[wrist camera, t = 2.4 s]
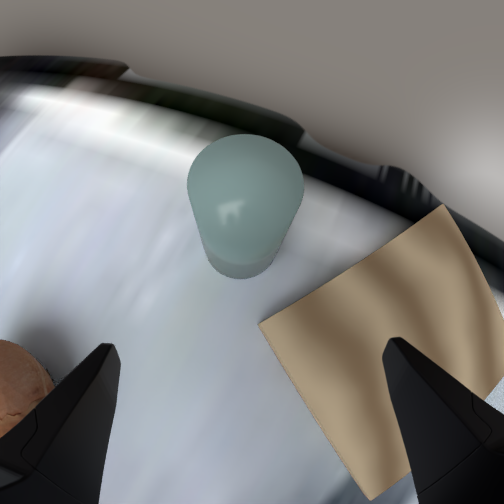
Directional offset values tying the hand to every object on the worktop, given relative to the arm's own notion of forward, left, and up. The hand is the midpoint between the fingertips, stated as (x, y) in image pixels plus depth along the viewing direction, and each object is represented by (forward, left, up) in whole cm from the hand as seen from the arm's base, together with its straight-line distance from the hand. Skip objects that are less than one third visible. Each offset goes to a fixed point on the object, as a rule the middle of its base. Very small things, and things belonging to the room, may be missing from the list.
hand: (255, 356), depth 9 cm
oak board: (+12, -8, -13) cm, 20 cm away
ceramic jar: (+4, +7, -13) cm, 16 cm away
